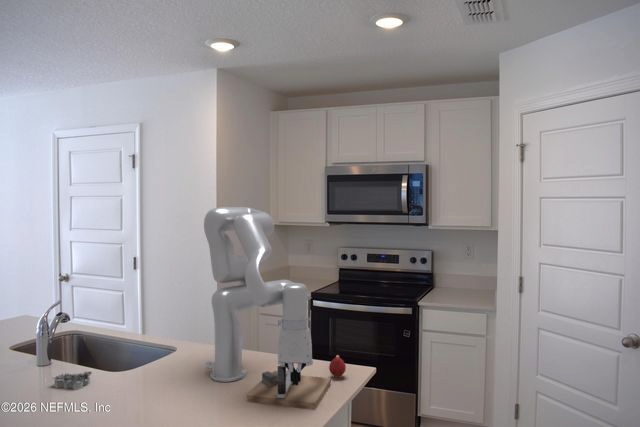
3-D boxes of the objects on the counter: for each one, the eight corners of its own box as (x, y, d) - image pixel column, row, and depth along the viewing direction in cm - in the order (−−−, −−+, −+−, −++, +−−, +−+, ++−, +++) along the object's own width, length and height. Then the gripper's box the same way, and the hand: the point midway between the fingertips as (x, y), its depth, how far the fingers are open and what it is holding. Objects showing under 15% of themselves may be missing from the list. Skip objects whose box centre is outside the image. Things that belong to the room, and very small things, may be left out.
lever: (287, 373, 162) (287, 346, 162) (300, 373, 162) (300, 347, 161) (273, 397, 142) (273, 368, 142) (287, 398, 141) (287, 368, 141)
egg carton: (93, 383, 160) (93, 371, 159) (76, 392, 152) (76, 379, 152) (67, 379, 162) (67, 368, 162) (50, 388, 155) (50, 376, 155)
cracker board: (247, 401, 145) (247, 383, 145) (270, 377, 164) (270, 361, 164) (315, 409, 139) (315, 391, 139) (330, 384, 159) (330, 367, 158)
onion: (344, 381, 161) (344, 358, 160) (327, 380, 162) (327, 357, 162) (346, 375, 166) (346, 353, 166) (330, 374, 168) (330, 352, 167)
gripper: (268, 327, 139) (269, 388, 139) (318, 327, 138) (319, 389, 138) (272, 320, 146) (273, 378, 147) (320, 321, 145) (320, 379, 146)
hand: (295, 383), depth 142 cm, fingers closed
